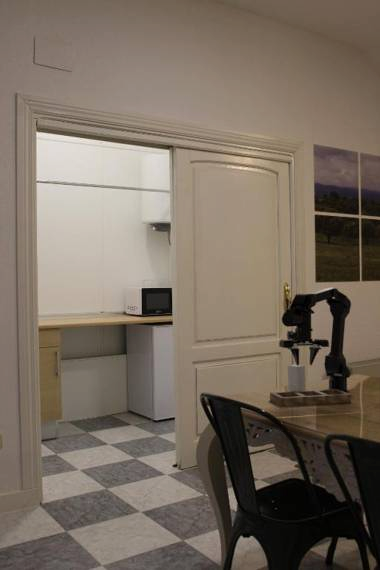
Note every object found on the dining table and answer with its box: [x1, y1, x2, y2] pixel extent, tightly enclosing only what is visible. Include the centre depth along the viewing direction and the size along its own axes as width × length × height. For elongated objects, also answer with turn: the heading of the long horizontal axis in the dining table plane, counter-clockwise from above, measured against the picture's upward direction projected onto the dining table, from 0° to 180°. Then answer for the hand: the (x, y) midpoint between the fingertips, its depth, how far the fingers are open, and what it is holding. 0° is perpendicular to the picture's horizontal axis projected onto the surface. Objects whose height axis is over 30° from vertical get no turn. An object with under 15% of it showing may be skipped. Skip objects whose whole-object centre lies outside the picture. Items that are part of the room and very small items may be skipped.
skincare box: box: [287, 364, 307, 392], centre depth 236 cm, size 6×4×12 cm
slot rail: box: [269, 388, 352, 407], centre depth 223 cm, size 28×12×3 cm, turn 102°
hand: (304, 365), depth 227 cm, fingers open, 5 cm apart
